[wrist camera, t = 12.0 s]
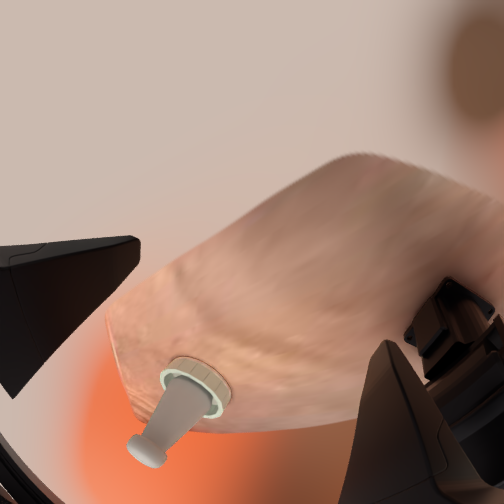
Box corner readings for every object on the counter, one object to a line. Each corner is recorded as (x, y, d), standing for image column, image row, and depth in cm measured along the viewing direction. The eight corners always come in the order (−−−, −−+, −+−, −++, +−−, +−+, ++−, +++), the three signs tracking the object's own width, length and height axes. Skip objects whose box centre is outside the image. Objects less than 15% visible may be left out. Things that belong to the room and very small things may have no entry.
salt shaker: (176, 382, 32) (119, 449, 21) (181, 359, 30) (113, 435, 18) (214, 404, 31) (162, 479, 20) (224, 384, 28) (165, 470, 17)
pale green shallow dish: (240, 382, 28) (231, 398, 26) (222, 413, 32) (213, 426, 30) (174, 344, 30) (162, 357, 28) (168, 380, 34) (158, 392, 32)
